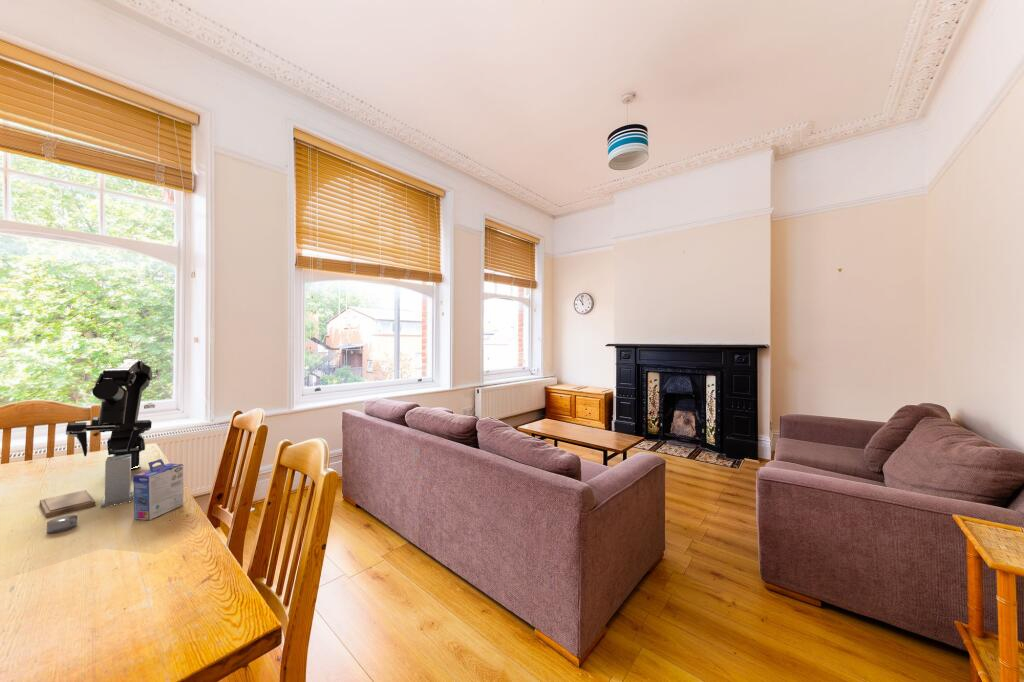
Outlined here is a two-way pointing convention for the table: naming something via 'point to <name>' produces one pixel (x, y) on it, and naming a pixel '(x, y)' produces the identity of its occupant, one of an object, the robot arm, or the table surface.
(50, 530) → the grey rounded block
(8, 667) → the table surface
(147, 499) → the ink cartridge box
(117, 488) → the block
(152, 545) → the table surface
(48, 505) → the stand
